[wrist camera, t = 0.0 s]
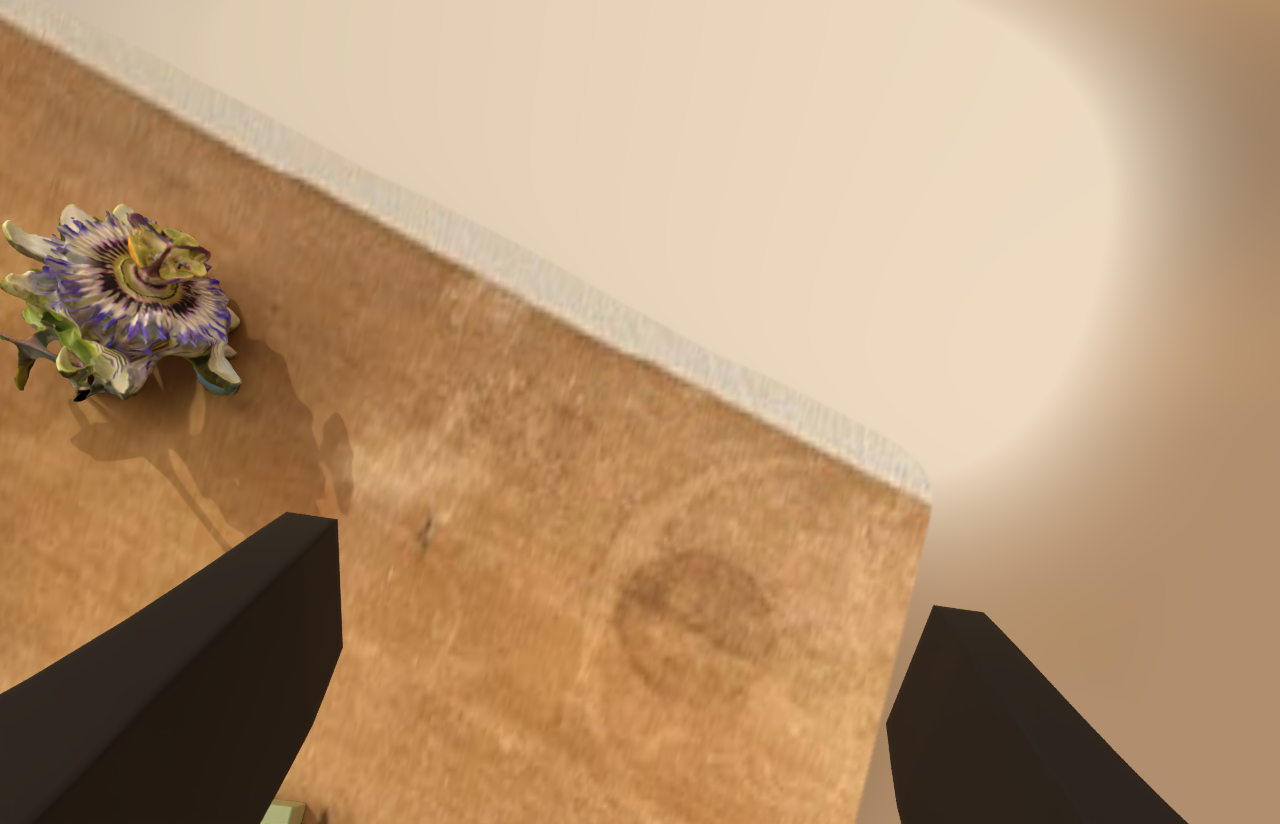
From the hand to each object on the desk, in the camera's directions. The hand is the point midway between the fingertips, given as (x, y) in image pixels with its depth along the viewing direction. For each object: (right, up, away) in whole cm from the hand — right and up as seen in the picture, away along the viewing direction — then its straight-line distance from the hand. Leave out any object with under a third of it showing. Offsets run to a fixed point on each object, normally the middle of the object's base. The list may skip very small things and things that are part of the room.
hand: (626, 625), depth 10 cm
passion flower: (-26, +6, +35) cm, 44 cm away
